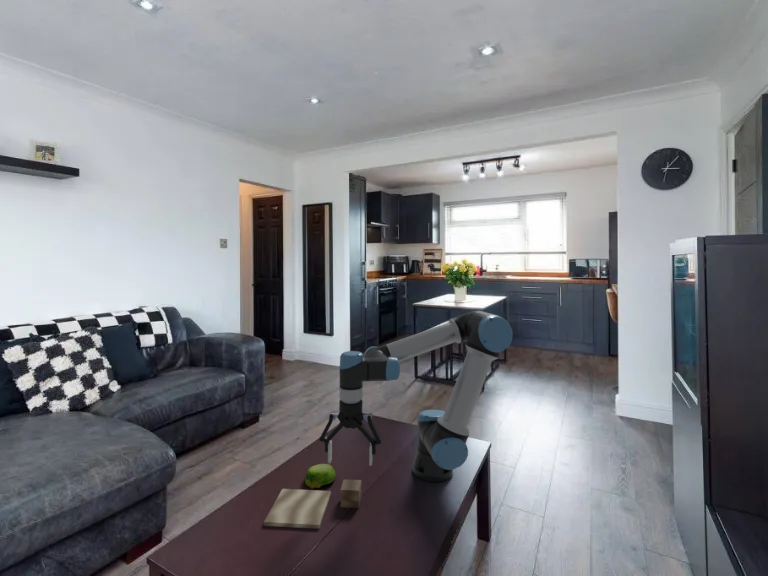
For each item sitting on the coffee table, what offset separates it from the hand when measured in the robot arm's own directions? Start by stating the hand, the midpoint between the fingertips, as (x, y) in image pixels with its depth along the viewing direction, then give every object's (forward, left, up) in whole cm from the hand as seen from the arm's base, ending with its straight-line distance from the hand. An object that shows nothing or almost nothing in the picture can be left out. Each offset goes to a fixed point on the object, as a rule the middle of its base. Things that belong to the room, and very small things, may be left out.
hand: (350, 462), depth 128 cm
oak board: (+16, +5, -14) cm, 21 cm away
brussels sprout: (+13, -12, -14) cm, 23 cm away
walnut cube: (0, 0, -14) cm, 14 cm away
